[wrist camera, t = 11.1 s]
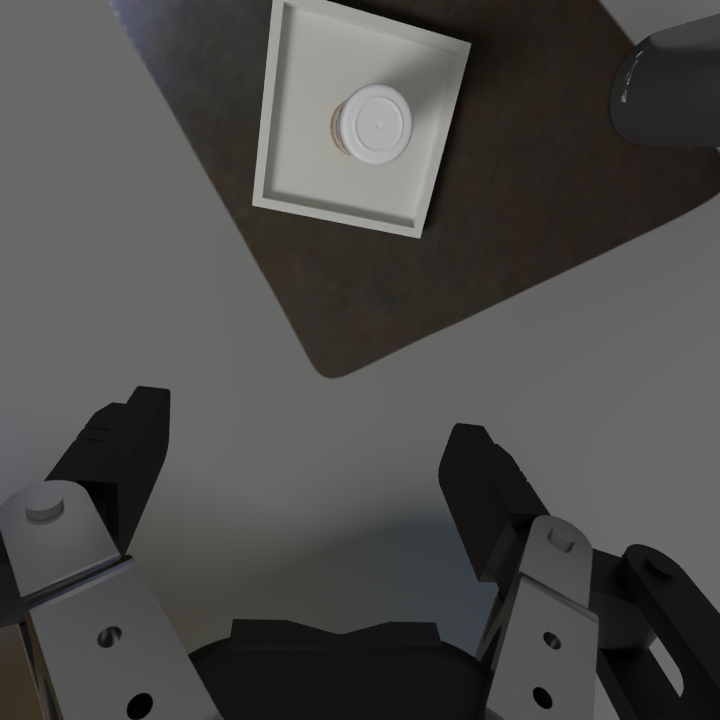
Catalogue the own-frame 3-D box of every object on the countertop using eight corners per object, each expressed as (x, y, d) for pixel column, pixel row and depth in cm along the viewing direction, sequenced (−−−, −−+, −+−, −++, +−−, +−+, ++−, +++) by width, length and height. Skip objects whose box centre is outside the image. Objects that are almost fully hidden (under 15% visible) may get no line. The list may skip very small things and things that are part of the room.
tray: (464, 47, 38) (471, 43, 36) (415, 234, 44) (420, 238, 43) (275, -9, 35) (274, -16, 33) (254, 202, 41) (252, 205, 40)
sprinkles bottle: (322, 109, 38) (331, 96, 26) (372, 91, 38) (404, 70, 26) (339, 164, 40) (355, 176, 28) (387, 147, 40) (422, 152, 28)
